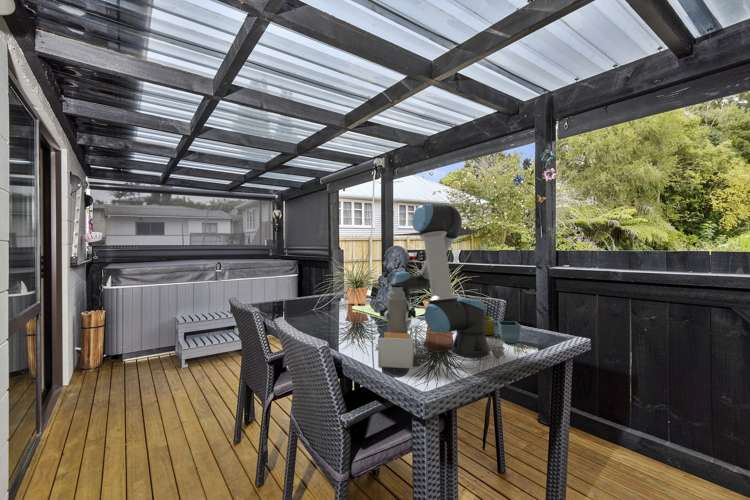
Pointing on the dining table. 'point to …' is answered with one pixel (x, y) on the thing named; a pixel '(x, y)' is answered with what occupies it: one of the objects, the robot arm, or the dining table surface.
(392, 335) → the pusher
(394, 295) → the thermos bottle
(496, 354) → the dining table surface
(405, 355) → the white open box
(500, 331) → the flower pot
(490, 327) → the mug
